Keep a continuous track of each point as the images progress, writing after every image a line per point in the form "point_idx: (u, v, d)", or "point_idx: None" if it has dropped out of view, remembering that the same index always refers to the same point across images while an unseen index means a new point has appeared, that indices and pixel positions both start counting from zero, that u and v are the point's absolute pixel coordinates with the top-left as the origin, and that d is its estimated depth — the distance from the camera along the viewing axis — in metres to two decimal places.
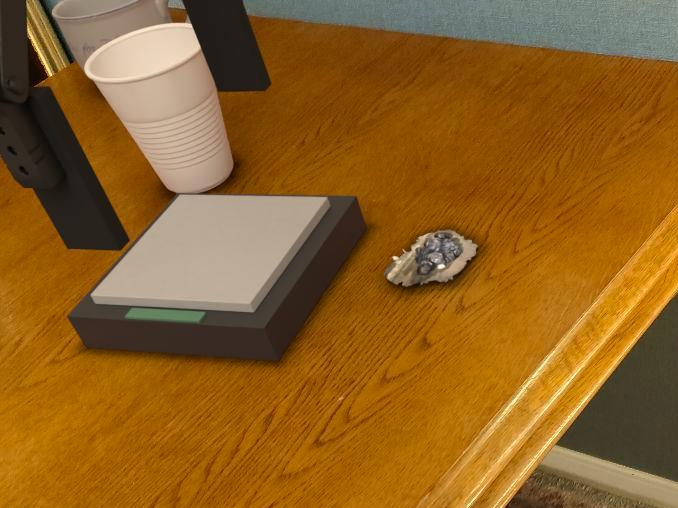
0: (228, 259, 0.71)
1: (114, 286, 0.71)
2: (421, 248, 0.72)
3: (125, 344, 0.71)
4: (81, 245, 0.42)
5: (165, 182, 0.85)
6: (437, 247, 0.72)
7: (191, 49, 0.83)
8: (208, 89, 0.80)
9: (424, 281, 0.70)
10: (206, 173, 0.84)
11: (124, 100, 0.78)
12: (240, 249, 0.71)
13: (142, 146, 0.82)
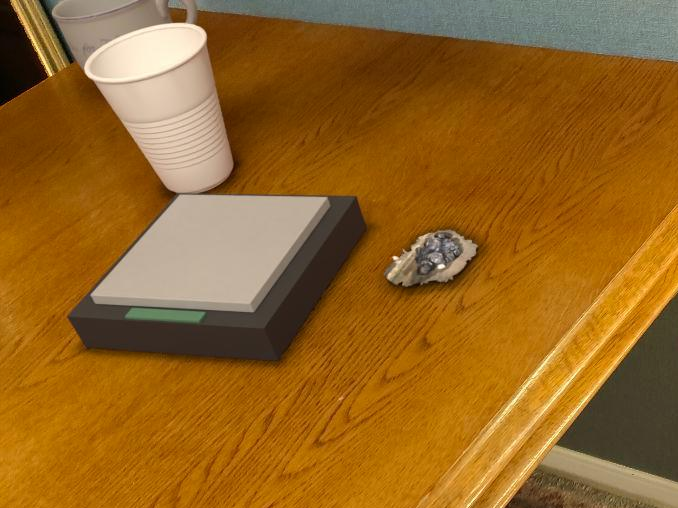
0: (228, 259, 0.71)
1: (114, 286, 0.71)
2: (421, 248, 0.72)
3: (125, 344, 0.71)
4: None
5: (165, 182, 0.85)
6: (437, 247, 0.72)
7: (191, 49, 0.83)
8: (208, 89, 0.80)
9: (424, 281, 0.70)
10: (206, 173, 0.84)
11: (124, 100, 0.78)
12: (240, 249, 0.71)
13: (142, 146, 0.82)
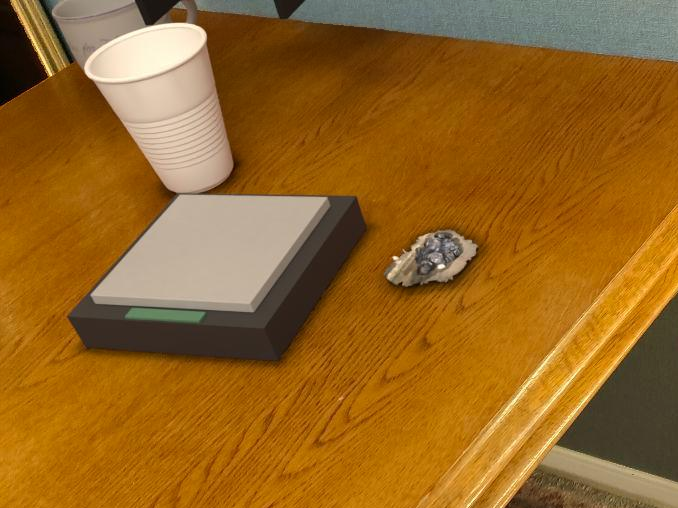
0: (228, 259, 0.71)
1: (114, 286, 0.71)
2: (421, 248, 0.72)
3: (125, 344, 0.71)
4: None
5: (165, 182, 0.85)
6: (437, 247, 0.72)
7: (191, 49, 0.83)
8: (208, 89, 0.80)
9: (424, 281, 0.70)
10: (206, 173, 0.84)
11: (124, 100, 0.78)
12: (240, 249, 0.71)
13: (142, 146, 0.82)
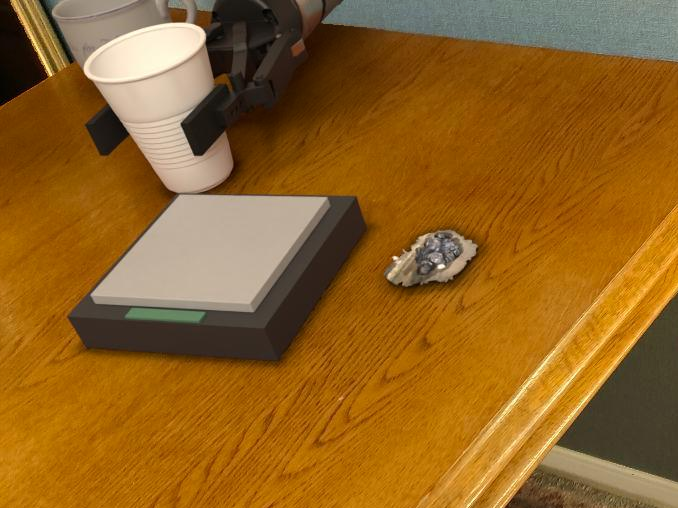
0: (228, 259, 0.71)
1: (114, 286, 0.71)
2: (421, 248, 0.72)
3: (125, 344, 0.71)
4: (193, 132, 0.78)
5: (165, 182, 0.85)
6: (437, 247, 0.72)
7: (190, 49, 0.83)
8: (207, 89, 0.80)
9: (424, 281, 0.70)
10: (206, 173, 0.84)
11: (124, 100, 0.78)
12: (240, 249, 0.71)
13: (142, 146, 0.82)
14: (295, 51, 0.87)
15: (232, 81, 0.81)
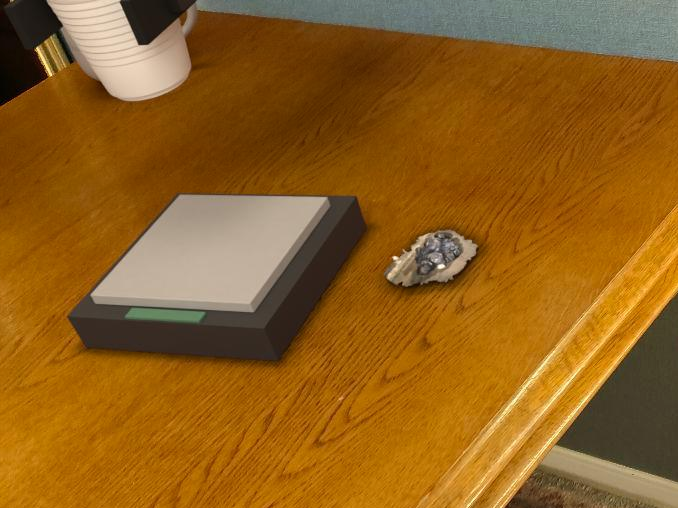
0: (228, 259, 0.71)
1: (114, 286, 0.71)
2: (421, 248, 0.72)
3: (125, 344, 0.71)
4: (136, 13, 0.63)
5: (107, 85, 0.70)
6: (437, 247, 0.72)
7: None
8: None
9: (424, 281, 0.70)
10: (156, 73, 0.69)
11: None
12: (240, 249, 0.71)
13: (76, 37, 0.67)
14: None
15: None
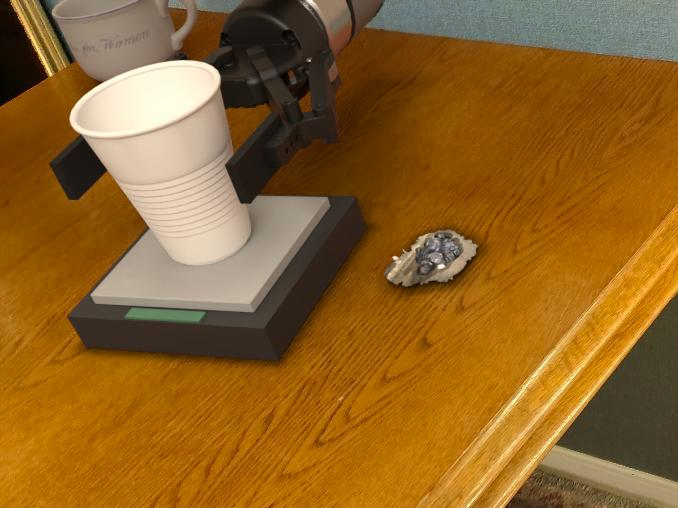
0: (228, 259, 0.71)
1: (114, 286, 0.71)
2: (421, 248, 0.72)
3: (125, 344, 0.71)
4: (241, 175, 0.63)
5: (169, 252, 0.70)
6: (437, 247, 0.72)
7: (201, 92, 0.68)
8: (222, 142, 0.66)
9: (424, 281, 0.70)
10: (219, 242, 0.69)
11: (119, 158, 0.63)
12: (240, 249, 0.71)
13: (141, 211, 0.67)
14: (331, 75, 0.72)
15: (287, 111, 0.66)
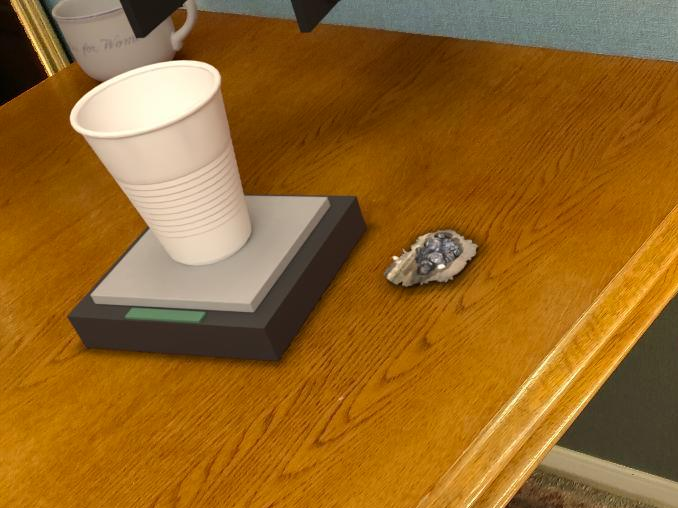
0: (228, 259, 0.71)
1: (114, 286, 0.71)
2: (421, 248, 0.72)
3: (125, 344, 0.71)
4: (302, 2, 0.67)
5: (169, 251, 0.70)
6: (437, 247, 0.72)
7: (201, 92, 0.68)
8: (222, 142, 0.66)
9: (424, 281, 0.70)
10: (219, 242, 0.69)
11: (119, 158, 0.63)
12: (240, 249, 0.71)
13: (141, 210, 0.67)
14: None
15: None
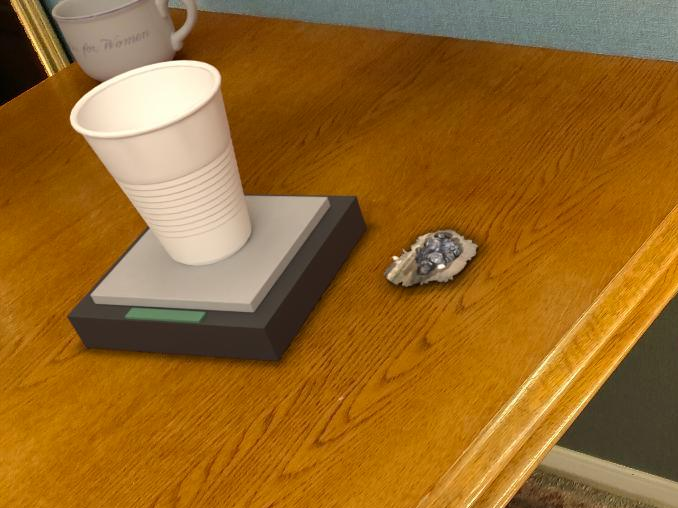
0: (228, 259, 0.71)
1: (114, 286, 0.71)
2: (421, 248, 0.72)
3: (125, 344, 0.71)
4: None
5: (169, 251, 0.70)
6: (437, 247, 0.72)
7: (201, 92, 0.68)
8: (222, 142, 0.66)
9: (424, 281, 0.70)
10: (219, 242, 0.69)
11: (119, 158, 0.63)
12: (240, 249, 0.71)
13: (141, 210, 0.67)
14: None
15: None
